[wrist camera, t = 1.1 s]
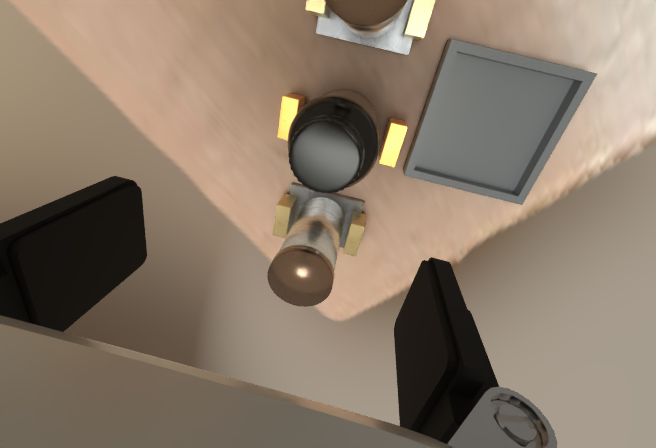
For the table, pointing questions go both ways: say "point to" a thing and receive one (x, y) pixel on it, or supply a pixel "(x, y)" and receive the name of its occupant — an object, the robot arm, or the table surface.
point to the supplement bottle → (334, 141)
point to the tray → (493, 120)
